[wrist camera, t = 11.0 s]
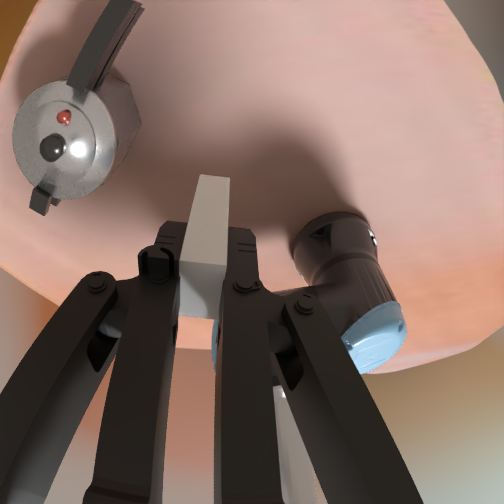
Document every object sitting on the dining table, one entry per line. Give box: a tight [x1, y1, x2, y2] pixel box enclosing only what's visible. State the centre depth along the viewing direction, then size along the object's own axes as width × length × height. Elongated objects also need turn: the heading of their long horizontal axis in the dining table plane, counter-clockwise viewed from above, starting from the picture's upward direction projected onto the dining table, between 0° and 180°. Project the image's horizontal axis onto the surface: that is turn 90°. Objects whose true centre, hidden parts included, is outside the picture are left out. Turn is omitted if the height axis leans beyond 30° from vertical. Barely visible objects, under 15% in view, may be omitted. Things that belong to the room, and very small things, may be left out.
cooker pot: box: [50, 7, 144, 206], centre depth 32 cm, size 29×15×9 cm, turn 145°
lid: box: [12, 0, 142, 216], centre depth 27 cm, size 29×16×3 cm, turn 144°
